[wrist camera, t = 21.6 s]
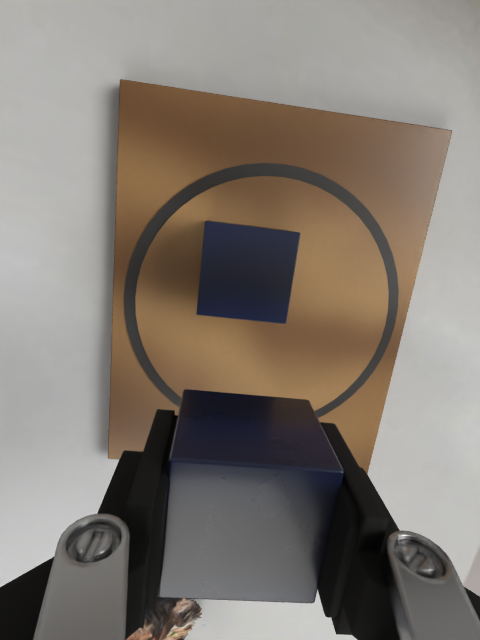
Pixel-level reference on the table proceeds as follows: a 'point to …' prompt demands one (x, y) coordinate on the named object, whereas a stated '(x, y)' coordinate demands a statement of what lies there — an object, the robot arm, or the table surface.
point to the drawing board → (273, 212)
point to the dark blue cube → (246, 272)
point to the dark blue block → (247, 499)
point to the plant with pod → (168, 620)
